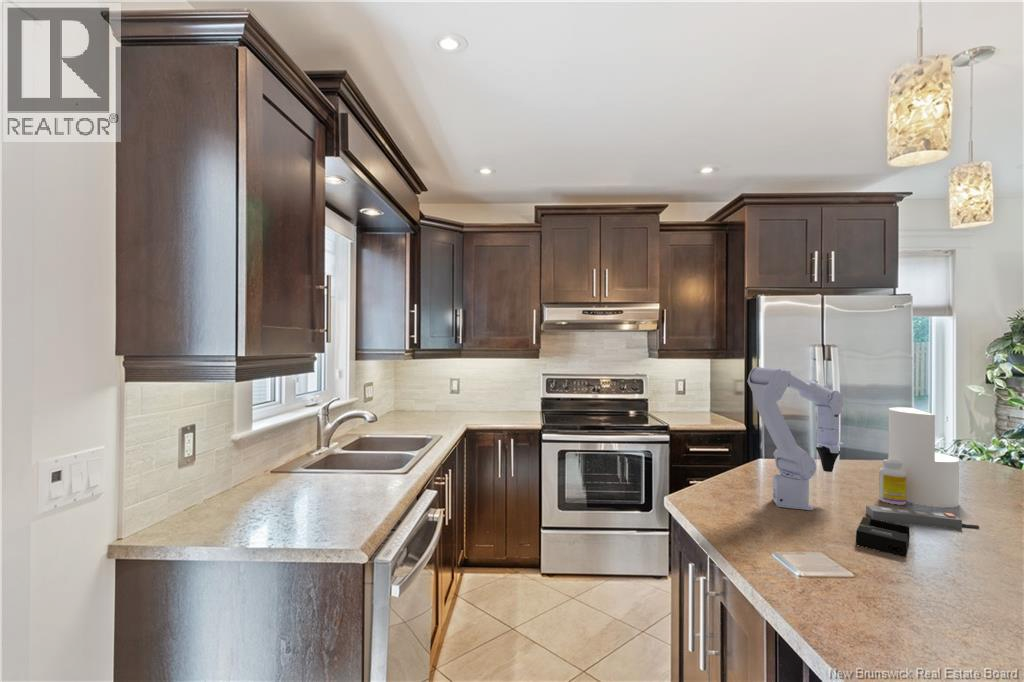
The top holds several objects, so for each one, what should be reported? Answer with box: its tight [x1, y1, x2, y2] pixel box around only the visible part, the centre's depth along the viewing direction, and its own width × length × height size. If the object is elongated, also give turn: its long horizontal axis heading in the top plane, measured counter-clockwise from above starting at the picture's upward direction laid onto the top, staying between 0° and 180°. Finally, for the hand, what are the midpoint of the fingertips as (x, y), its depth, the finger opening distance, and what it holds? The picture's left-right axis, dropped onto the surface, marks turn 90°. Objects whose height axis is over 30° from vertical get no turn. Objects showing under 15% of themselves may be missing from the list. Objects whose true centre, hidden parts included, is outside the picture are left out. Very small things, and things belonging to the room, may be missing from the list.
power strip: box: [865, 504, 980, 530], centre depth 131 cm, size 25×5×3 cm, turn 72°
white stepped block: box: [887, 407, 960, 508], centre depth 152 cm, size 17×17×28 cm
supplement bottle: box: [878, 458, 907, 506], centre depth 148 cm, size 7×7×13 cm
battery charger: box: [855, 516, 911, 558], centre depth 117 cm, size 13×10×4 cm
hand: (827, 471), depth 148 cm, fingers closed
